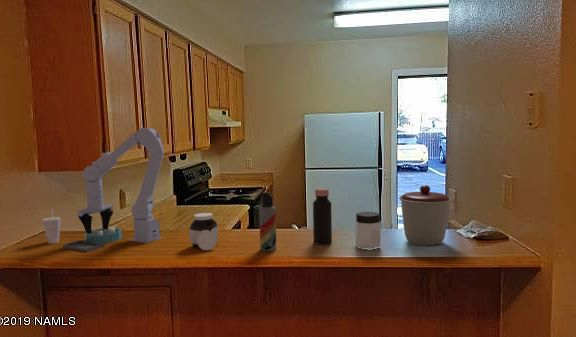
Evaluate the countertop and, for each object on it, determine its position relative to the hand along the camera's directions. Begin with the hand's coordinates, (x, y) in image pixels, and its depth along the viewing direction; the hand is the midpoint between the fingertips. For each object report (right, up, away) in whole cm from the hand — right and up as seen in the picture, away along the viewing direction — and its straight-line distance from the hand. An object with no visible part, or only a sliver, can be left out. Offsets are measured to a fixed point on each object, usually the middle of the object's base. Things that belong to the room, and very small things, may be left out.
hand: (97, 231), depth 166 cm
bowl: (+1, -4, +3) cm, 5 cm away
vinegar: (+87, -3, -8) cm, 88 cm away
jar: (+103, -4, -15) cm, 104 cm away
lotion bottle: (+68, -5, -15) cm, 69 cm away
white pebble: (0, -4, 0) cm, 4 cm away
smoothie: (-17, -5, 0) cm, 18 cm away
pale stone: (+3, -3, +5) cm, 7 cm away
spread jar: (+44, -5, -10) cm, 46 cm away
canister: (+124, -3, -10) cm, 125 cm away
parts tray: (-1, -5, -8) cm, 10 cm away
